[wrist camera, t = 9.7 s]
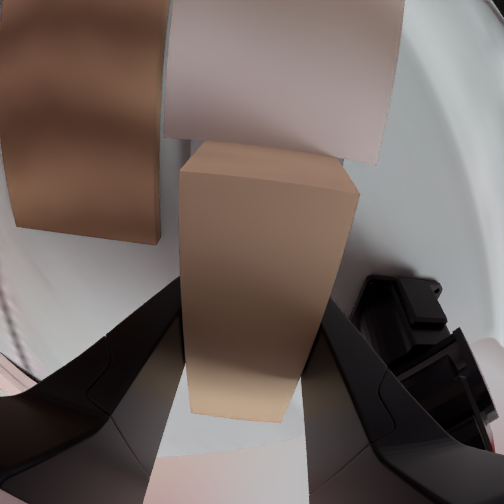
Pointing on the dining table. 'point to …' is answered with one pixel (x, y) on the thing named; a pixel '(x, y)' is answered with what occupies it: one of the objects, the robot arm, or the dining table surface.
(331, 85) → the two-tone block
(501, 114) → the dining table surface
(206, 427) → the dining table surface
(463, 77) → the dining table surface
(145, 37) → the walnut board
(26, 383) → the wall bracket
